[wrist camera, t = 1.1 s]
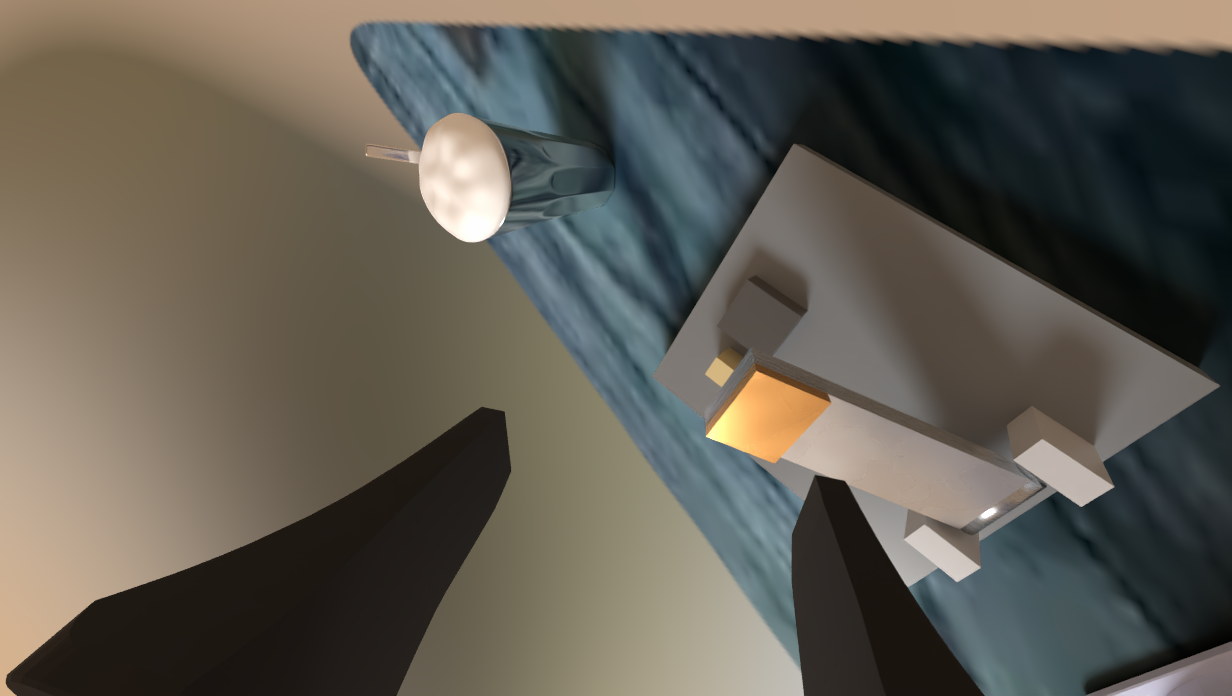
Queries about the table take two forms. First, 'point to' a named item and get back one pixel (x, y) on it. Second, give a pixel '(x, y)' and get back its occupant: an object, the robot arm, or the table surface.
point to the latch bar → (864, 444)
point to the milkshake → (503, 175)
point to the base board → (925, 346)
